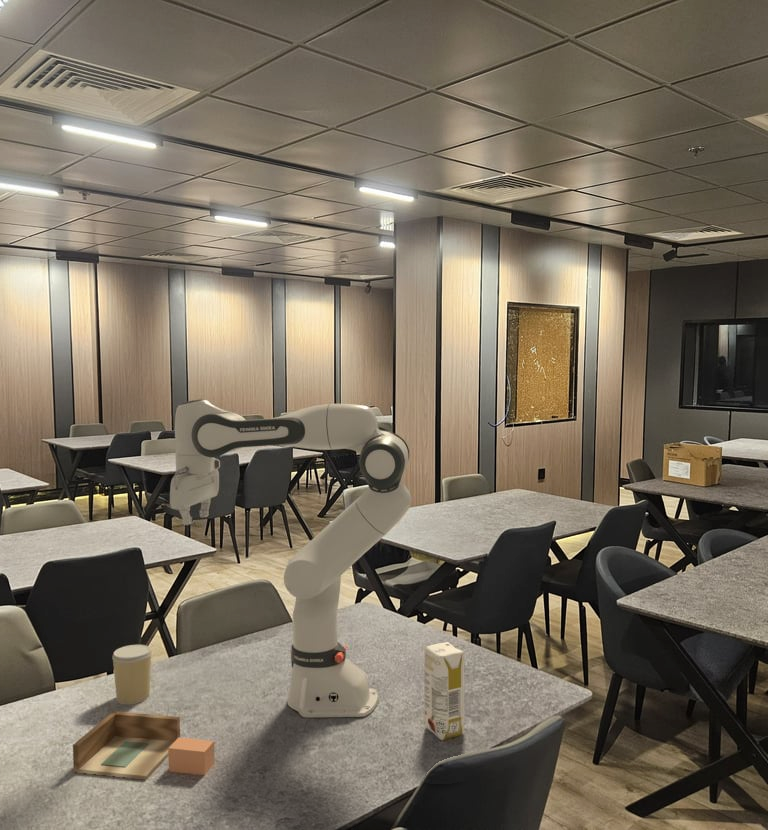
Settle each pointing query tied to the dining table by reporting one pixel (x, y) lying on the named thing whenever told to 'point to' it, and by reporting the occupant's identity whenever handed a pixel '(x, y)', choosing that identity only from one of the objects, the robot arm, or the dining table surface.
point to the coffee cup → (132, 673)
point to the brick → (191, 756)
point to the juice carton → (444, 690)
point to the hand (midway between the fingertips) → (196, 520)
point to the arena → (126, 745)
